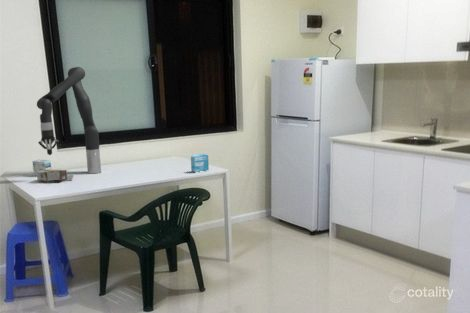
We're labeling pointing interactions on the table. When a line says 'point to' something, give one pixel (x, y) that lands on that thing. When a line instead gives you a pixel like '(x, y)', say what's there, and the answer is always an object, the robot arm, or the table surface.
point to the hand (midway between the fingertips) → (49, 154)
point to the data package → (199, 163)
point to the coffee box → (52, 175)
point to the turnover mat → (69, 178)
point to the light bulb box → (41, 165)
